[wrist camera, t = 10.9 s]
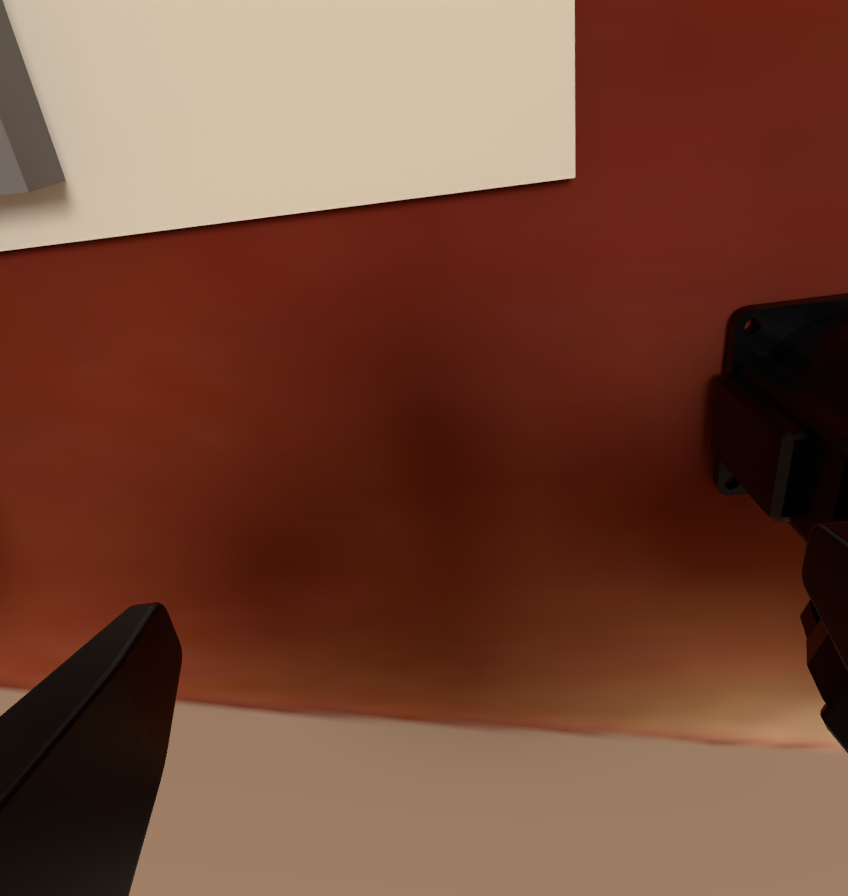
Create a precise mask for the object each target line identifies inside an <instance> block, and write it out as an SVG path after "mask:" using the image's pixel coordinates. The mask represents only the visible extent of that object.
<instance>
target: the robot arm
mask: <svg viewBox="0 0 848 896" xmlns="http://www.w3.org/2000/svg"><path fill="white" fill-rule="evenodd" d="M752 318H755V323H754V325H753V326H752V327H751V328H750V329H747V330H745V329H744V327H745V324H746V322H747V321H748V320H750V319H752ZM711 450H712V452H713V453H714V454H715V462H714V471H713V484H714V485H715V486H716V488H717V489H718V490H719V491H720V493H722V494H724V495H739V494H747V493H749V495H750V496H751V497H752V498H753V499H754V500H755V502H756V503H757V504H758V505H759V506H760V507H761V508H762V510H763V511H764V512H765V513H766V514H767V515H768V516H769V517H770V518H771V519H773V520H774V521H775V522H784V521H788V522H789V524H790V525H791V526H792V527H793V528H794V529H795V530H796V531H797V532H798V534H799V535H800V536H801V537H802V538H803V539H804V540H805V541H806V542H807V547H806V552H805V557H804V562H803V566H802V579H803V583H804V586H805V589H806V591H807V593H808V595H809V597H810V599H811V600H810V601H809V602H808V604H807V605H806V607H805V609H804V610H803V612H802V613H801V615H800V618H801V621H802V624H803V627H804V631H805V634H806V637H807V666H808V668H809V671H810V673H811V675H812V677H813V679H814V681H815V683H816V686H817V688H818V690H819V692H820V694H821V696H822V698H823V700H824V701H825V703H826V704H825V705H824V706H823V708H822V709H821V713H820V715H821V717H822V719H823V721H824V723H825V725H826V727H827V729H828V730H829V731H830V732H831V734H832V735H833V736H834V737H835V738H836V740H837V741H838V742H839V743H840V744H841V746H842V747H843V748H844V749H845V751H846V752H847V753H848V293H847V294H839V295H831V296H823V297H815V298H807V299H799V300H791V301H783V302H775V303H767V304H759V305H751V306H746V307H743V308H741V309H740V310H738V311H737V312H736V313H735V314H734V316H733V317H732V320H731V323H730V329H729V338H728V347H727V356H726V365H725V373H724V375H723V376H722V378H721V379H720V380H719V382H718V384H717V393H716V403H715V412H714V421H713V430H712V439H711ZM733 476H734V479H733V480H732V481H731V482H729V483H725V482H726V480H727V479H729V478H730V477H733ZM181 664H182V649H181V645H180V642H179V639H178V637H177V634H176V632H175V629H174V627H173V624H172V622H171V619H170V617H169V614H168V612H167V610H166V608H165V607H164V605H163V604H161V603H157V602H155V603H147V604H139V605H133V606H131V607H129V608H128V609H126V610H125V611H124V612H123V613H122V614H121V615H119V616H118V617H117V618H116V619H115V620H113V621H112V622H111V623H110V624H109V625H108V626H106V627H105V628H104V629H103V630H102V631H100V632H99V633H98V634H97V635H96V636H95V637H93V638H92V639H91V640H90V641H89V642H88V643H86V644H85V645H84V646H83V647H82V648H80V649H79V650H78V651H77V652H76V653H75V654H73V655H72V656H71V657H70V658H69V659H67V660H66V661H65V662H64V663H63V664H62V665H60V666H59V667H58V668H57V669H56V670H54V671H53V672H52V673H51V674H50V675H49V676H47V677H46V678H45V679H44V680H43V681H42V682H40V683H39V684H38V685H37V686H36V687H34V688H33V689H32V690H31V691H30V692H29V693H27V694H26V695H25V696H24V697H23V698H21V699H20V700H19V701H18V702H17V703H16V704H14V705H13V706H12V707H11V708H10V709H8V710H7V711H6V712H5V713H4V714H3V715H1V716H0V896H129V892H130V888H131V885H132V882H133V878H134V875H135V871H136V867H137V864H138V860H139V856H140V853H141V849H142V846H143V842H144V839H145V835H146V831H147V828H148V824H149V820H150V817H151V813H152V810H153V806H154V803H155V799H156V795H157V792H158V788H159V784H160V781H161V777H162V773H163V768H164V764H165V760H166V754H167V749H168V743H169V737H170V731H171V725H172V719H173V713H174V707H175V700H176V694H177V688H178V682H179V676H180V670H181Z"/></svg>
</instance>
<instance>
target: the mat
mask: <svg viewBox="0 0 848 896" xmlns="http://www.w3.org/2000/svg"><path fill="white" fill-rule="evenodd" d="M570 178H575V0H0V251H8V250H16V249H23V248H31V247H39V246H47V245H55V244H62V243H70V242H78V241H86V240H94V239H101V238H109V237H117V236H125V235H133V234H141V233H148V232H156V231H164V230H172V229H180V228H187V227H195V226H203V225H211V224H219V223H226V222H234V221H242V220H250V219H258V218H265V217H273V216H281V215H289V214H297V213H304V212H312V211H320V210H328V209H336V208H344V207H351V206H359V205H367V204H375V203H383V202H390V201H398V200H406V199H414V198H422V197H429V196H437V195H445V194H453V193H461V192H468V191H476V190H484V189H492V188H500V187H508V186H515V185H523V184H531V183H539V182H547V181H554V180H562V179H570Z"/></svg>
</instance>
